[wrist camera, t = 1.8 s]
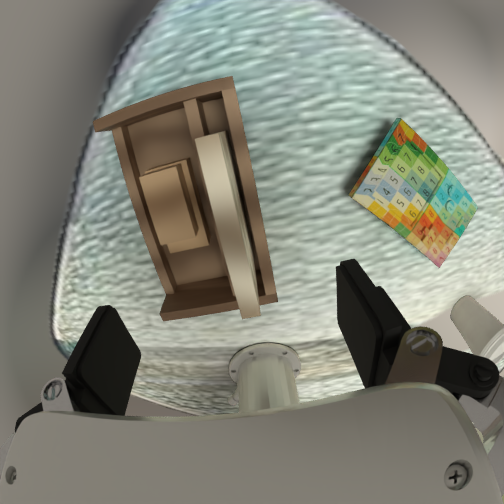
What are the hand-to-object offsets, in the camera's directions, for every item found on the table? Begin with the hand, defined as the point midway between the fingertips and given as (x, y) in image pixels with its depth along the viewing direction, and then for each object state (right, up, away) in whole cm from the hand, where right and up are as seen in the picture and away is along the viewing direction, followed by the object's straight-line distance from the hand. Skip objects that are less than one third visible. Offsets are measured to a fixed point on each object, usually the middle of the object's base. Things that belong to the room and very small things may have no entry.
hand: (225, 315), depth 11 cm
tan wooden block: (-7, +8, +21) cm, 24 cm away
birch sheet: (-1, +10, +21) cm, 23 cm away
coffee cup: (+45, -9, +34) cm, 57 cm away
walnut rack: (-6, +9, +22) cm, 24 cm away
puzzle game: (+24, +11, +23) cm, 35 cm away
